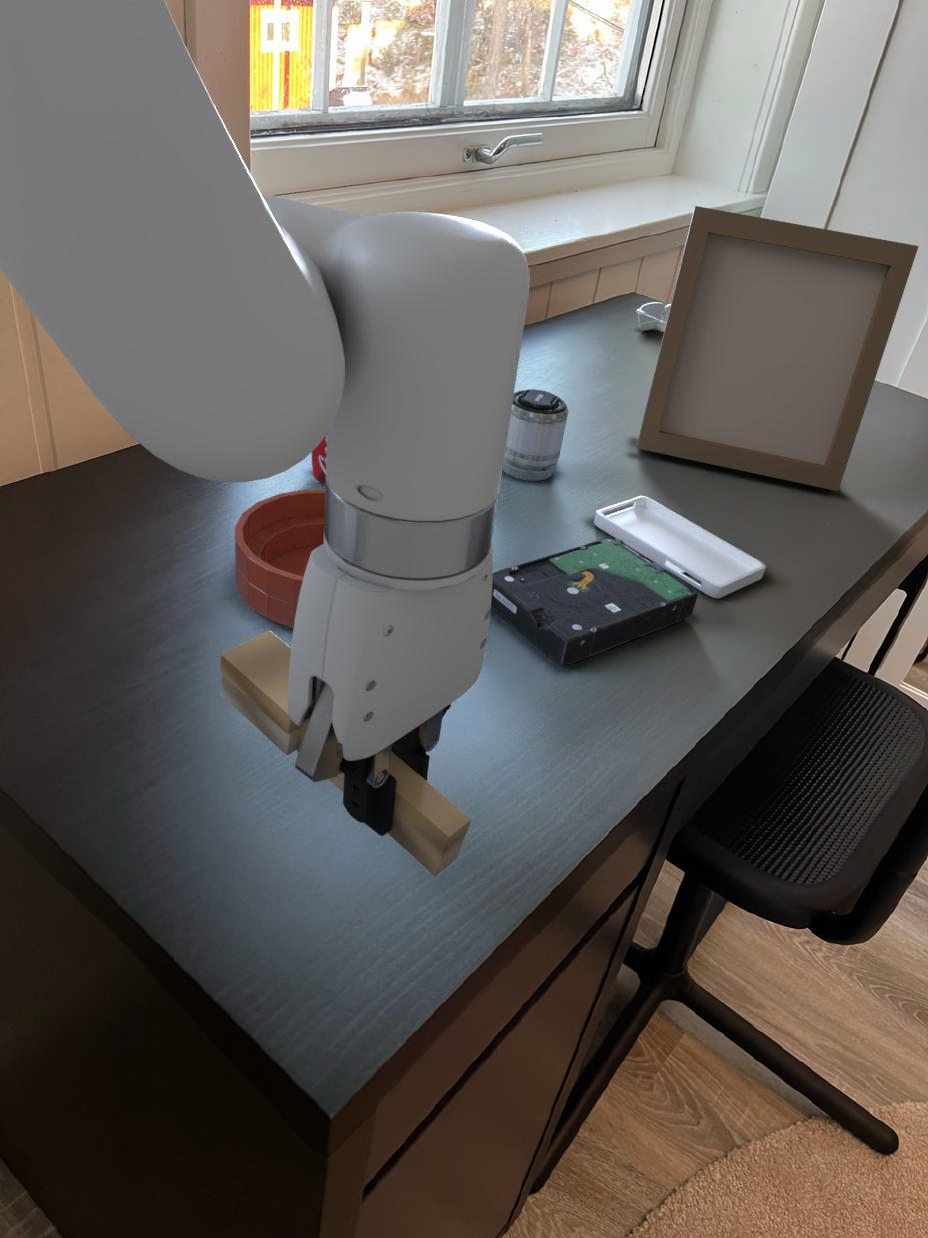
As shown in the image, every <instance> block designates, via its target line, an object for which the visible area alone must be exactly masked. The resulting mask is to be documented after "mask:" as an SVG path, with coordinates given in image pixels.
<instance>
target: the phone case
mask: <svg viewBox="0 0 928 1238" xmlns="http://www.w3.org/2000/svg"><path fill="white" fill-rule="evenodd" d="M629 504H633V505H632V506H630V507H626V508H624V509H621V510H618V511H615V512H612V513H610V514H606V515H605V512H608V511H612V510H615V509H617V508H621V507H624V506H626V505H629ZM593 524H594V525H595V526H596V527H597V528H598V529H600V530H602V531H603V532H605V533H606V534H608V535H610V536H611V537H613V538H615V539H620V540H623V542H622V544H623V545H626V546H627V547H629V548H630V549H632V550H633V551H635V552H636V553H638V554H640V555H641V556H643V557H644V558H647V559H649V561H652V563H653V562H655V563H657V564H659V565H660V566H662V567H663V568H665V569H666V571H668V572H669V573H671V574H673V575H674V576H676V577H677V578H679V579H680V580H682V581H683V582H685V583H686V584H688V585H690V586H691V587H693V588H694V589H697V590H698V591H700V592H702V593H703V594H705V595H707V596H708V597H711V598H714V599H720V598H723V597H725V596H728V595H730V594H732V593H734V592H736V591H738V590H741V589H742V588H744V587H746V586H749V585H751V584H754V583H755V582H757V581H760V580H762V579H763V577H764V574H765V571H766V568H767V565H765V563H764V562H762V561H761V560H759V559H757V558H756V557H754V556H752V555H750V553H747V552H745V551H743V550H742V549H740V548H738V547H736V546H735V545H733V544H731V543H730V542H728V541H726V540H724V539H723V538H720V537H718V536H717V535H716V534H713V533H712V532H710V531H708V530H706V529H705V528H703V527H701V526H699V525H698V524H696V523H694V522H692V521H691V520H689V519H687V518H685V517H684V516H682V515H680V514H679V513H677V512H675V511H673V510H671V509H670V508H668V507H666V506H664V505H663V504H661V503H659V502H657V501H656V500H655V499H652V498H650V497H648V496H644V495H639V496H636V497H633V498H631V499H627V500H624V501H621V502H618V503H616V504H612V505H609V506H606V507H603V508H601V509H597V510H596V511H595V515H594V520H593ZM685 573H687V574H688V575H689V576H691V577H694V578H695V579H696V580H697V581H699V582H701V583H699V582H697V581H696V580H694V579H692V578H691V577H689V576H687V575H686V574H685Z"/></svg>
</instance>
